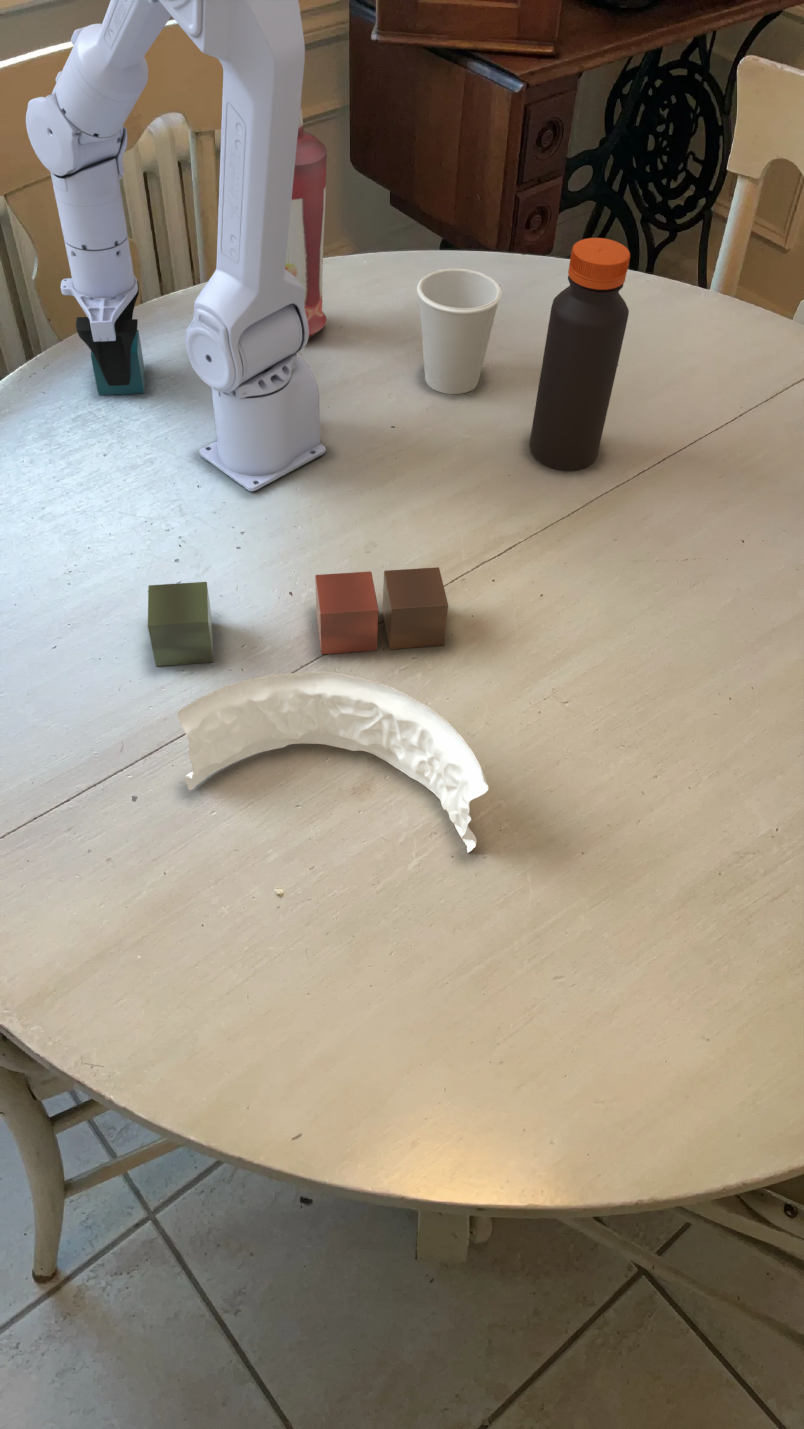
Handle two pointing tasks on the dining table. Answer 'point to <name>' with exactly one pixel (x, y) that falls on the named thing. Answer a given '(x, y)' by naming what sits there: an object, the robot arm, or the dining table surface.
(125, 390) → the teal block
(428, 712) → the curved plaster moulding
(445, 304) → the dixie cup
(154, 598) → the block row
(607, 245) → the bottle
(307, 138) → the liquor
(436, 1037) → the dining table surface
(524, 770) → the dining table surface
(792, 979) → the dining table surface
